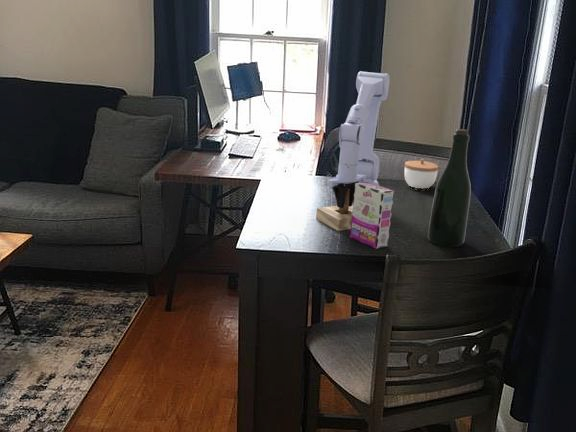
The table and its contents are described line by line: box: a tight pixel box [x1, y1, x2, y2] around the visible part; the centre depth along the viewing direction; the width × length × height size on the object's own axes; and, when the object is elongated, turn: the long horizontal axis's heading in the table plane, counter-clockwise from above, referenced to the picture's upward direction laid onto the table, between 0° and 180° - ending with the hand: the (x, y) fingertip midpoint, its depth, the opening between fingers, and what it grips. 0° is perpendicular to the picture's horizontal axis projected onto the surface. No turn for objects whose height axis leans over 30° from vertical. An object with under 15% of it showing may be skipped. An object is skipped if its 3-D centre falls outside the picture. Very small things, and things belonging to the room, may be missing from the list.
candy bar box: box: [349, 182, 395, 250], centre depth 178 cm, size 11×5×16 cm, turn 37°
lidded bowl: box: [403, 158, 440, 189], centre depth 241 cm, size 13×13×11 cm
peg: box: [339, 189, 350, 215], centre depth 194 cm, size 3×3×8 cm
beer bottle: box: [427, 128, 472, 248], centre depth 180 cm, size 10×10×33 cm
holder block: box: [315, 205, 353, 232], centre depth 196 cm, size 12×12×4 cm
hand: (344, 206), depth 195 cm, fingers closed on peg, 3 cm apart
